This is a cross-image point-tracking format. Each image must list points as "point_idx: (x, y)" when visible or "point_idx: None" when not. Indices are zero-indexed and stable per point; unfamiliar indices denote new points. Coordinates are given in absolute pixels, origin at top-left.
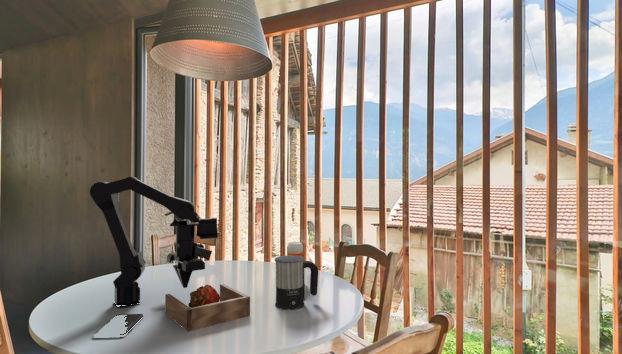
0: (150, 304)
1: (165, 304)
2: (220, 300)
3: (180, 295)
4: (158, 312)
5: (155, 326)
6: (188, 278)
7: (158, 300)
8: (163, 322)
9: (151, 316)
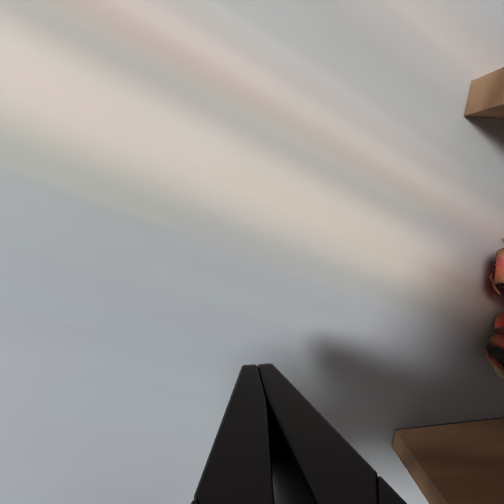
0: None
1: (430, 501)
2: (488, 113)
3: (107, 302)
4: None
5: None
6: (369, 489)
7: (147, 441)
8: None
9: None
